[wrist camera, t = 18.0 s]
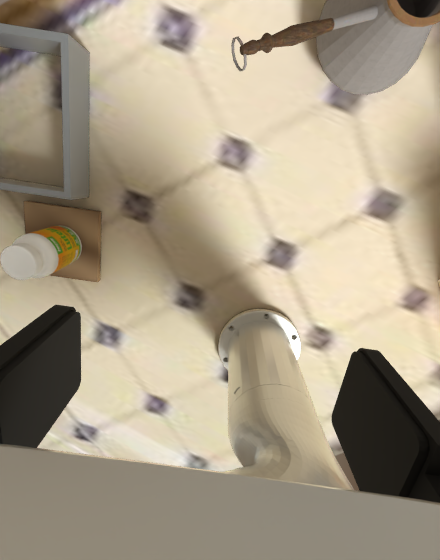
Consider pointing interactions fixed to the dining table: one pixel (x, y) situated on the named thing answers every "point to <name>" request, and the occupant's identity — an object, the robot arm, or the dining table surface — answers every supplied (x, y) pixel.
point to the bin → (72, 108)
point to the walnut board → (81, 224)
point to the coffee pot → (360, 40)
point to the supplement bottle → (41, 253)
